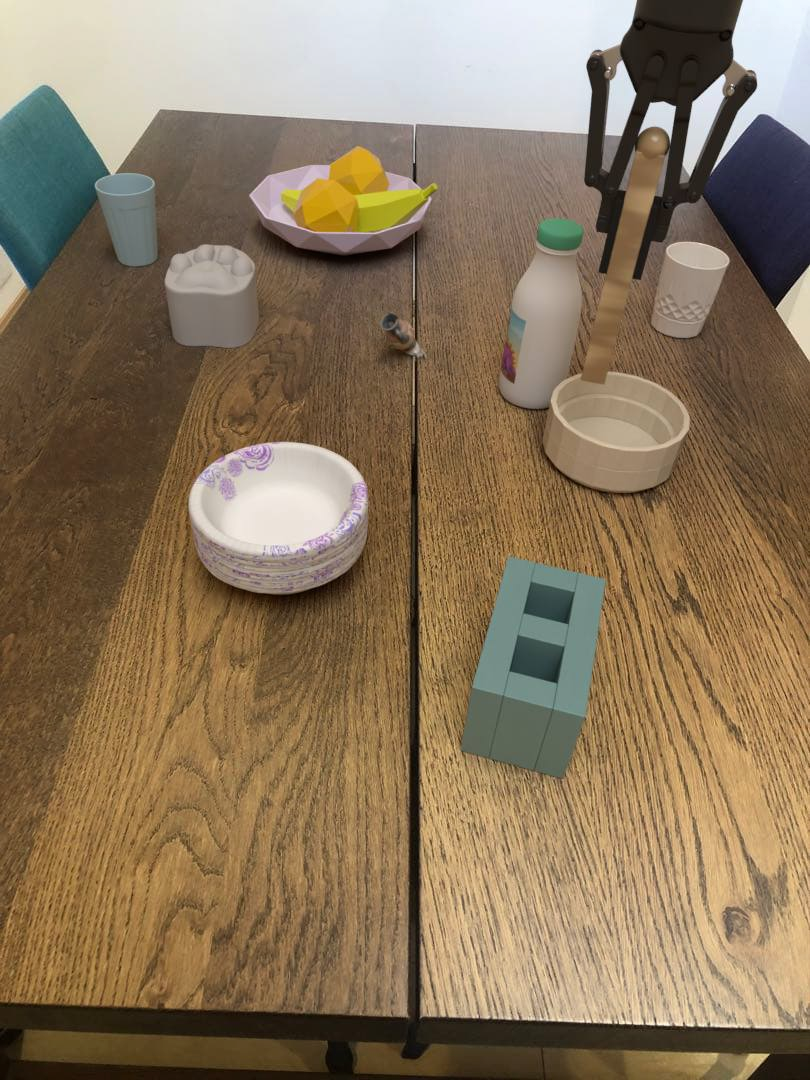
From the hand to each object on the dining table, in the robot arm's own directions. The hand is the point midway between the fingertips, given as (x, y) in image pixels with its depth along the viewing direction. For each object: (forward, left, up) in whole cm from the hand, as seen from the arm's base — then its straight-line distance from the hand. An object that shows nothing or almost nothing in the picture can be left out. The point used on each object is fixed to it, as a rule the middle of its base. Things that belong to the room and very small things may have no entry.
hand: (620, 269), depth 75 cm
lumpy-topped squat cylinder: (+48, -11, -21) cm, 53 cm away
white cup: (-9, -32, -21) cm, 39 cm away
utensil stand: (0, +34, -21) cm, 40 cm away
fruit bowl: (+41, -41, -21) cm, 61 cm away
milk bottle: (+7, -9, -21) cm, 24 cm away
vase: (+24, -11, -21) cm, 33 cm away
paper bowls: (+24, +26, -21) cm, 41 cm away
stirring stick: (0, 0, -12) cm, 12 cm away
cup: (+66, -23, -21) cm, 73 cm away
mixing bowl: (-3, 0, -21) cm, 21 cm away
